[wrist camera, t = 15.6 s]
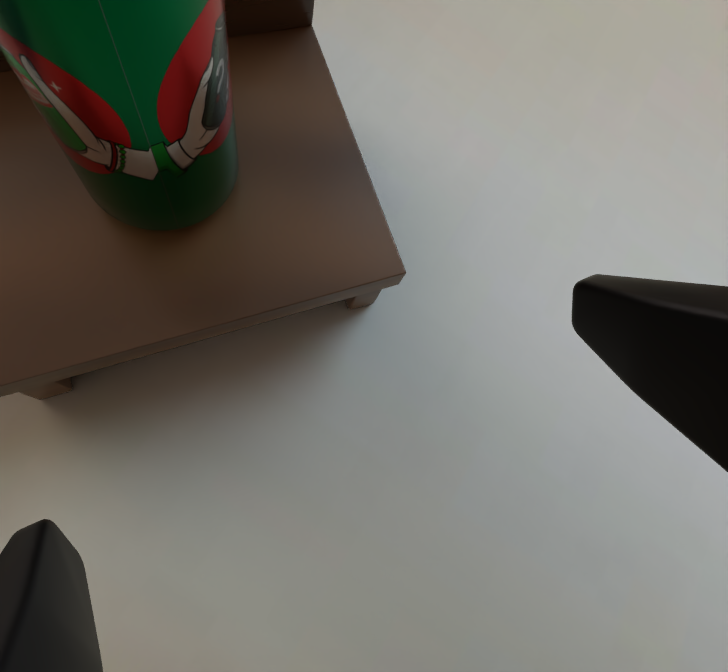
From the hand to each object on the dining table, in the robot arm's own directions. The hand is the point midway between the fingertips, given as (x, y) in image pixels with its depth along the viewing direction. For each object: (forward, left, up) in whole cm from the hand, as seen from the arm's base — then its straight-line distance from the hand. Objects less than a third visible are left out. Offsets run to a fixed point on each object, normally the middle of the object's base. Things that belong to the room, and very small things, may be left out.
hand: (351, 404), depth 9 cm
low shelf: (+11, +2, -14) cm, 17 cm away
